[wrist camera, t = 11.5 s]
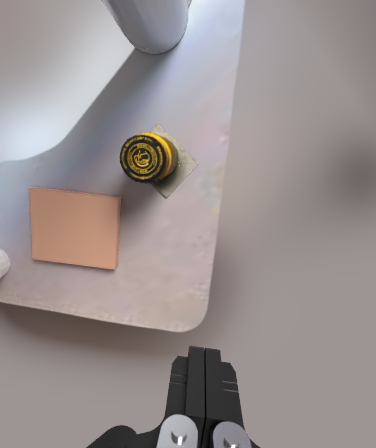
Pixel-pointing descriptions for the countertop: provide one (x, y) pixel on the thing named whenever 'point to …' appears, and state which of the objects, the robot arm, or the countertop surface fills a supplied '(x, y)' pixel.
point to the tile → (75, 227)
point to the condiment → (156, 160)
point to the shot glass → (4, 263)
